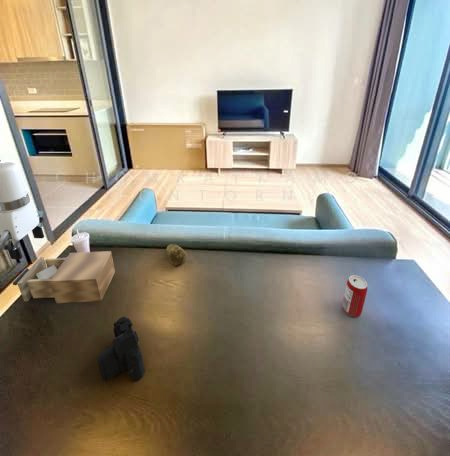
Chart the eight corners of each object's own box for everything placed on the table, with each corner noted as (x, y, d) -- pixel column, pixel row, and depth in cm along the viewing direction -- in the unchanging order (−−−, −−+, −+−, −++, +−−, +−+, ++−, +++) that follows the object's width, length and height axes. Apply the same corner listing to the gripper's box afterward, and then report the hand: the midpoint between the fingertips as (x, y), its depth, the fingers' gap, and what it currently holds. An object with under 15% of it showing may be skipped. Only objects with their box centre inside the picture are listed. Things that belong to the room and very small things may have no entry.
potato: (187, 249, 105) (186, 233, 102) (187, 272, 93) (186, 255, 90) (167, 251, 104) (165, 235, 101) (165, 275, 92) (163, 258, 89)
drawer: (10, 302, 81) (3, 284, 79) (34, 274, 92) (28, 257, 89) (66, 299, 82) (60, 281, 79) (83, 272, 93) (78, 255, 90)
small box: (39, 284, 86) (35, 273, 85) (58, 274, 90) (54, 263, 89) (44, 293, 83) (40, 282, 81) (63, 282, 87) (60, 272, 85)
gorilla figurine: (95, 349, 69) (89, 326, 65) (131, 328, 74) (126, 306, 71) (108, 406, 57) (101, 382, 54) (149, 376, 62) (145, 352, 59)
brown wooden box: (56, 303, 82) (48, 281, 78) (75, 273, 94) (70, 252, 90) (101, 301, 82) (96, 279, 79) (115, 271, 94) (111, 251, 91)
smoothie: (72, 261, 99) (63, 232, 94) (83, 250, 105) (76, 222, 100) (86, 263, 98) (79, 233, 93) (97, 251, 104) (90, 223, 99)
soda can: (364, 312, 78) (372, 283, 74) (354, 321, 75) (361, 291, 71) (348, 299, 82) (354, 271, 78) (338, 307, 80) (344, 278, 75)
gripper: (23, 188, 83) (36, 230, 89) (-26, 218, 67) (-6, 267, 73) (45, 188, 83) (57, 231, 89) (2, 218, 67) (19, 268, 73)
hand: (28, 247), depth 81 cm, fingers open, 9 cm apart
